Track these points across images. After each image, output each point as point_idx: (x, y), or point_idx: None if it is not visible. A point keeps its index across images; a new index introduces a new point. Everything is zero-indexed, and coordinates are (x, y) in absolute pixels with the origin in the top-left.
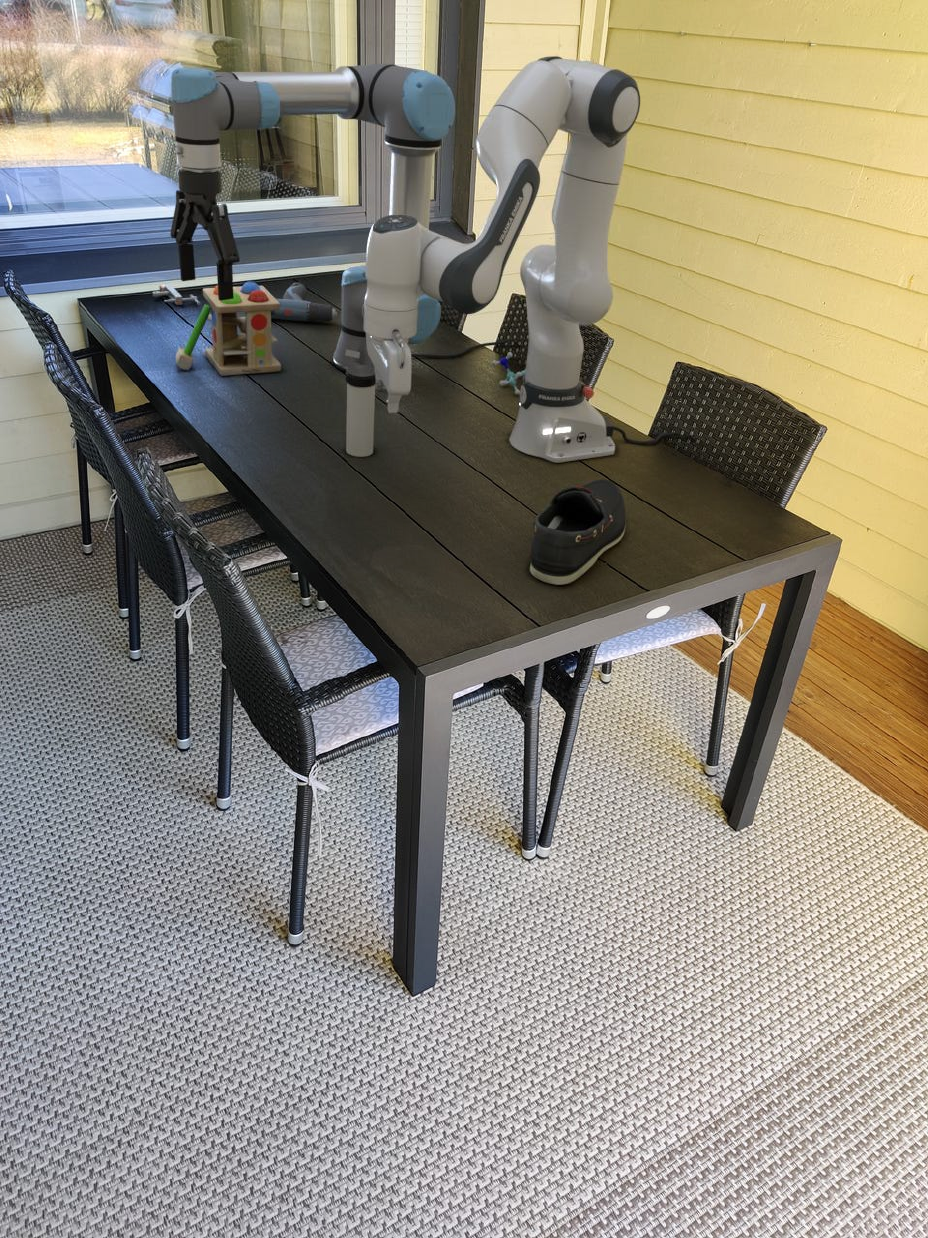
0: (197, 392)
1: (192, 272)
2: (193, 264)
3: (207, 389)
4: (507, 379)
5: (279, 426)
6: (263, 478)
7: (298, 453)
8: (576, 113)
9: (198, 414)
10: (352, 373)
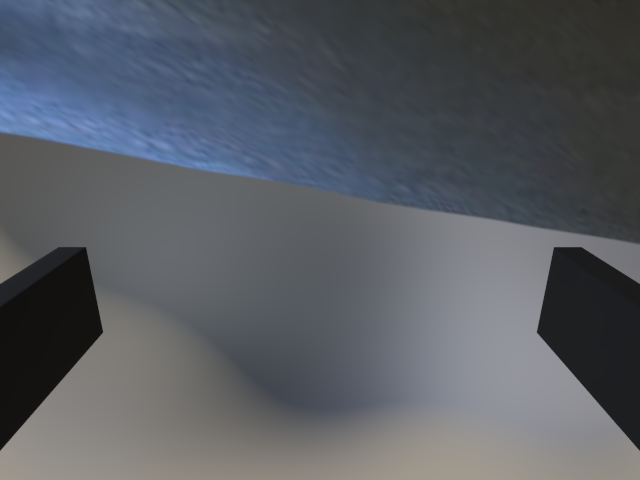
0: (105, 72)
1: (62, 288)
2: (19, 305)
3: (94, 36)
4: None
5: (398, 7)
6: (583, 198)
7: (547, 63)
8: None
9: (235, 143)
10: None
